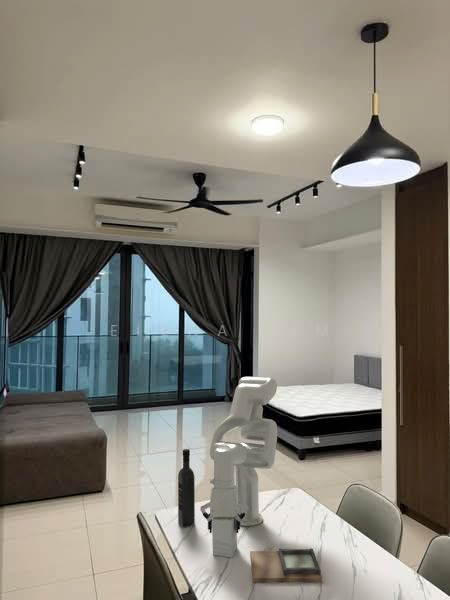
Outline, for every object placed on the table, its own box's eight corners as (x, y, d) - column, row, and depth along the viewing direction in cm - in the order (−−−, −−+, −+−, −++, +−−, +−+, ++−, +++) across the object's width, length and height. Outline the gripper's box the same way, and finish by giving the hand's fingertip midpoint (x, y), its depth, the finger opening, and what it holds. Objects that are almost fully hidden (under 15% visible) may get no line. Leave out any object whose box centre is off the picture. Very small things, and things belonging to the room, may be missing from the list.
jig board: (253, 583, 135) (252, 573, 135) (250, 555, 151) (250, 546, 151) (322, 582, 135) (321, 572, 135) (311, 554, 151) (311, 546, 151)
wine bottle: (183, 528, 171) (182, 452, 172) (177, 522, 176) (177, 449, 177) (195, 524, 174) (195, 450, 175) (189, 519, 178) (189, 447, 180)
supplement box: (237, 547, 156) (237, 512, 157) (231, 558, 149) (231, 521, 150) (218, 544, 158) (218, 509, 159) (211, 554, 151) (211, 518, 152)
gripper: (199, 486, 151) (199, 536, 150) (248, 486, 151) (248, 536, 150) (201, 479, 158) (200, 526, 157) (247, 479, 158) (247, 526, 157)
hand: (224, 531), depth 153 cm, fingers open, 9 cm apart
